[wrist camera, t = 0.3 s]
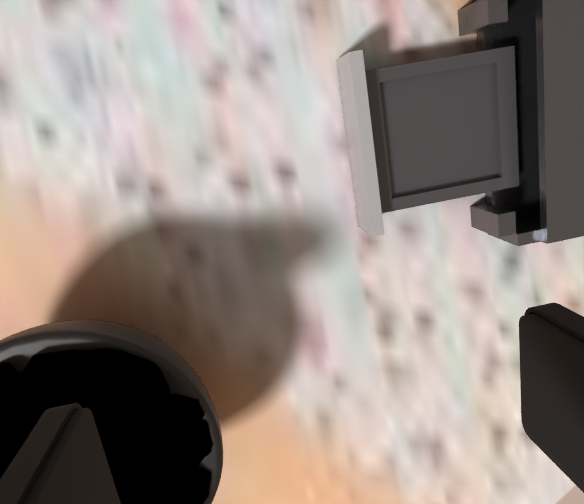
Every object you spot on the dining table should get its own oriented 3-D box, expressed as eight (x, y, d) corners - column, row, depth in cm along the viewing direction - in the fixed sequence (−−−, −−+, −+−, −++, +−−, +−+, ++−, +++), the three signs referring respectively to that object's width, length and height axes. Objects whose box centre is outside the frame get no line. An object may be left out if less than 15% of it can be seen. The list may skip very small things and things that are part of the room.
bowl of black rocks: (-7, 484, 42) (-181, 748, 24) (-17, 274, 37) (-244, 408, 19) (215, 483, 45) (208, 716, 27) (232, 289, 41) (236, 416, 23)
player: (456, -4, 37) (494, -25, 32) (629, -31, 38) (691, -56, 33) (472, 237, 42) (506, 252, 37) (622, 206, 44) (675, 216, 39)
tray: (336, 60, 37) (348, 51, 33) (497, 33, 38) (527, 22, 34) (358, 226, 40) (372, 236, 36) (504, 197, 41) (532, 204, 38)
